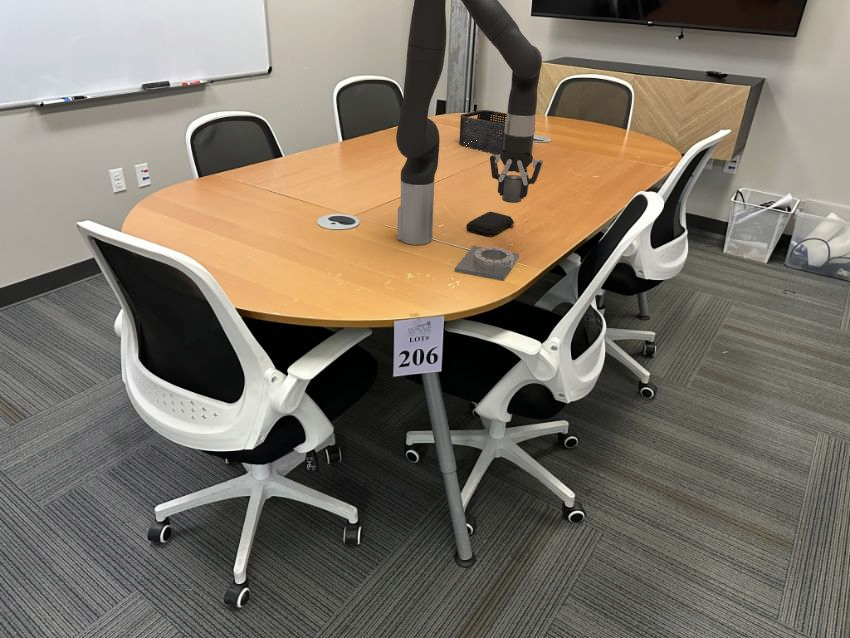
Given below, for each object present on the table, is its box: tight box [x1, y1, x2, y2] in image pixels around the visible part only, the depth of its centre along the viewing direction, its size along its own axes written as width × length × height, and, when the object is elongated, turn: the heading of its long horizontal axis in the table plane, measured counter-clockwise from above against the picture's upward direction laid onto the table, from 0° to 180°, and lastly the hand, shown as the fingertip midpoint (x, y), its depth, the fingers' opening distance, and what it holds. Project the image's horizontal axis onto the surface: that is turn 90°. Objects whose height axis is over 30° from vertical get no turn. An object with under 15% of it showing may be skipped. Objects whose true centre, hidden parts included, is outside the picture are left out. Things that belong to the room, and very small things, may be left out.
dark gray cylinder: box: [501, 174, 523, 204], centre depth 162 cm, size 5×5×6 cm
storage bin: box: [458, 109, 507, 155], centre depth 266 cm, size 29×19×13 cm
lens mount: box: [454, 245, 520, 282], centre depth 161 cm, size 13×16×3 cm
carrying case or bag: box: [466, 211, 515, 237], centre depth 184 cm, size 11×3×15 cm
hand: (512, 196), depth 163 cm, fingers closed on dark gray cylinder, 5 cm apart
